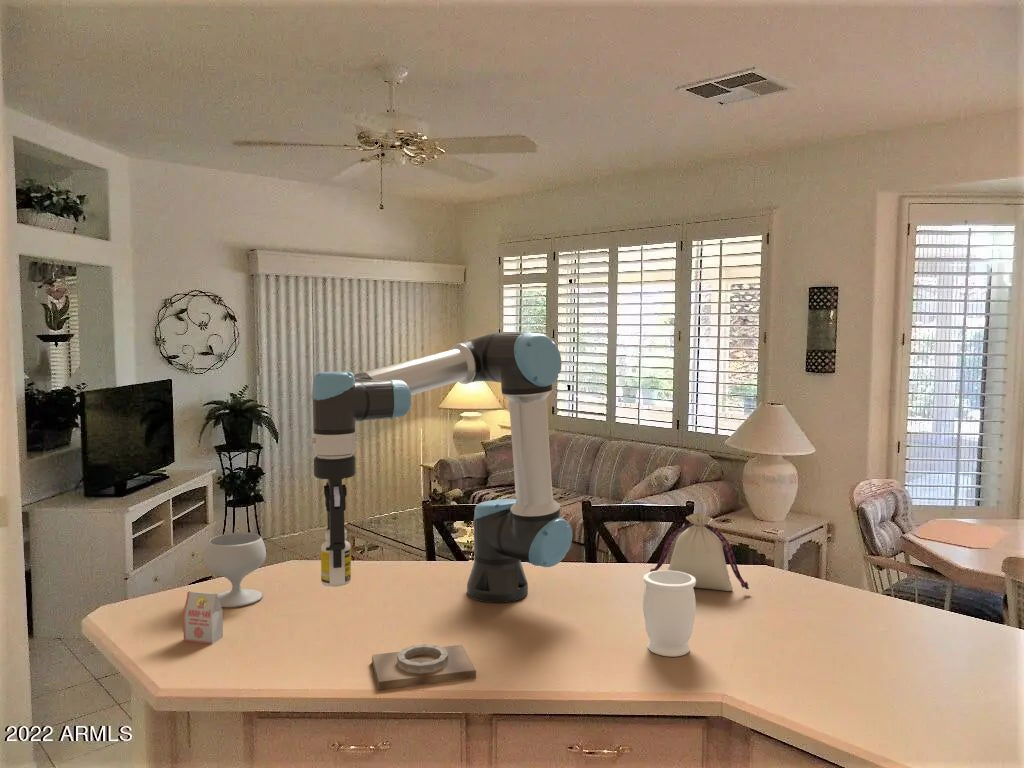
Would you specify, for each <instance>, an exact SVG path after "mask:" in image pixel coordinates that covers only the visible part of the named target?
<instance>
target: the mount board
mask: <svg viewBox="0 0 1024 768" xmlns="http://www.w3.org/2000/svg"><path fill="white" fill-rule="evenodd" d="M371 664H372V667H373V671H374V676H375V680H376V685H377V688H378V690H379V691H380V690H381V691H382V690H389V689H397V688H398V689H399V688H405V687H412V686H420V685H429V684H437V683H447V682H453V681H461V680H469V679H476V678H477V669H476V668H475V666H474V664H473V662H472V660H471V658H470V656H469V654H468V653H467V651H466V649H465V648H464V646H463V644H457V645H448V646H439V645H437V644H436V645H435V644H426V643H424V644H423V643H422V644H416V645H415V644H414V645H411V646H407V647H405V648H402V649H401V650H399V651H395V652H394V651H393V652H386V653H376V654H372V655H371Z"/></svg>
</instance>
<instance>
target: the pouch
mask: <svg viewBox="0 0 1024 768" xmlns="http://www.w3.org/2000/svg"><path fill="white" fill-rule="evenodd" d="M685 518H686V520H687V521H689V524H686V525H683V526H681V527H680V528H678V529H676V530H675V531H674V532H672V534H671V535H670V536H669V537H668V539H667V540H666V542H665V544H664V546H663V548H662V551H661V553H660V557H659V560H658V562H657V564H656V566H655V567H654V568H652V567H651V568H650V569H649V572H652V571H659V569H660V568H661V567H662V565H664V563H665V561H666V558H667V557H668V554H669V551H670V548H671V546H672V543H673V541H674V539H675V538H676V537H677V535H678V534H679V533H680V534H679V536H678V537H677V538H676V542H675V546H674V548H673V552H672V555H671V559H670V562H669V567H668V569H667V570H671V571H679V572H684V573H687V574H690V575H692V576H693V577H695V579H696V585H695V586H694V587H693V588H696V589H697V588H698V589H707V590H716V591H717V590H718V591H722V592H724V591H725V592H732V591H733V589H734V588H733V585H732V582H731V580H730V578H731V577H730V575H729V570H728V566H727V561H726V558H725V554H724V549H725V551H726V554H727V558H728V561H729V565H730V567H731V570H732V572H733V574H734V576H735V577H736V578H737V580H738V581H739V582H740V586H741V588H744V589H746V590H749V589H750V587H749V583H748V581H744V579H743V577H742V576H741V574H740V571H739V568H738V564H737V561H736V557H735V554H734V551H733V548H732V547H731V544H730V543H729V541H728V540H727V538H726V537H725V536H724V535H723V534H722V533H721V532H720V531H719V530H717V529H716V528H715V527H714V526H711V525H709V524H710V523H711V522H712V520H713V518H712V517H710V516H708V515H706V513H704V512H697V513H692V514H690V515H687V516H686V517H685ZM683 530H684V531H683ZM722 544H723V546H724V549H723V546H722Z"/></svg>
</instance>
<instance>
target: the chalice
mask: <svg viewBox="0 0 1024 768" xmlns="http://www.w3.org/2000/svg"><path fill="white" fill-rule="evenodd" d="M204 551H205V552H204V557H203V561H204V564H205V566H206V568H207V569H208V570H209V572H211V573H213V574H215V575H218V576H221V577H223V578H225V579H227V580H228V581H230V583H231V589H230V590H226V591H222V592H220V593H216V594H217V596H218V600H219V603H220V605H221V608H237V607H243V606H247V605H252V604H254V603H257V602H258V601H260V600H262V598H263V597H264V594H263V593H262V592H261V591H259V590H256V589H252V588H251V589H250V588H242V587H241V583H242V581H243V580H244V578H245V577H246V576H248V575H249V574H251V573H253V572H254V571H256V570H258V569H259V568H261V566H263V564H264V563H265V561H266V558H267V549H266V545H265V542H264V540H263V538H262V537H261V535H260V534H258V533H255V532H243V531H242V532H231V533H224V534H220V535H217V536H214V537H212V538H210V539H209V541H208V543H207V545H206V547H205V550H204Z"/></svg>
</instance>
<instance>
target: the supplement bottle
mask: <svg viewBox="0 0 1024 768" xmlns="http://www.w3.org/2000/svg"><path fill="white" fill-rule="evenodd" d="M344 532H345V584H337V585H330V573H329V551H326V547H329V546H330V530H327V529H326V530H325V531H324V540H325V541H324V542H322V544H321V545H320V546H321V547H320V570H321V571H320V577H321V581H320V582H321V584H322V585H323V586H325V587H333V588H334V587H335V588H337V587H342V586H346V585H348V584H350V582H351V581H352V569H351V568H352V565H351V563H352V562H351V561H352V557H351V555H352V553H351V552H352V551H351V550H352V548H351V543H350V542H349V541H348V540H347V539H348V531H347V529H345V528H344Z"/></svg>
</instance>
